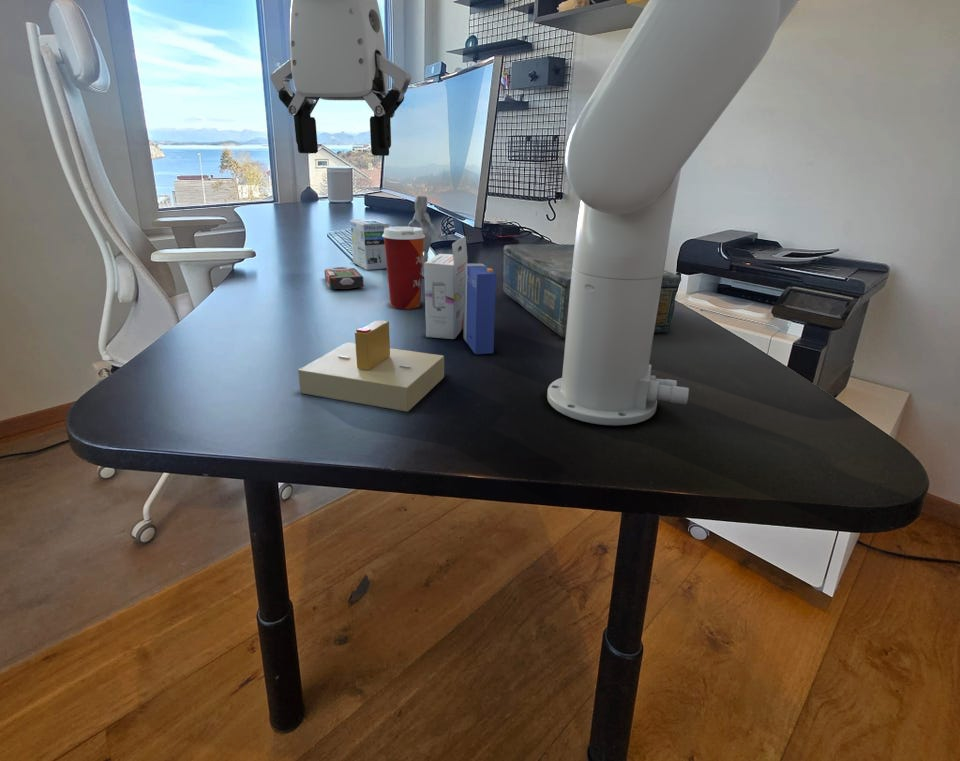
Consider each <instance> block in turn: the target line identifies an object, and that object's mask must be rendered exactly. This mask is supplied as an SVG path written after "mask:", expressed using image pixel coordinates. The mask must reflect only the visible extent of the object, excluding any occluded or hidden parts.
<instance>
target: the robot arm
mask: <svg viewBox="0 0 960 761" xmlns="http://www.w3.org/2000/svg"><path fill="white" fill-rule="evenodd" d="M799 1H800V0H648V1H647V3H646V5H645V6H644V7H643V10H642V12H641V13H640V15H639V16H638V17H637V19H636V21H635V23H634V24H633V26H632V28H631V30H630V31H629V33H628V34H627V36H626V37H625V40H623V42H622V44H621V46H620V47H619V49H618V51H617V52H616V53H615V54H616V55H615V56H614V58H613V59H612V61H611V62H610V64H609V66H608V67H607V69H606V71H605V72H604V74H603V75H602V77H601V79H600V80H599V82H598V84H597V86H596V87H595V89H594V90H593V92H592V94H591V95H590V97H589V99H588V100H587V102H586V103H585V105H584V107H583V108H582V111H580V114H579V115H578V117H577V119H576V121H575V123H574V125H573V126H572V129H571V131H570V134H569V136H568V140H567V143H566V149H565V158H564V159H565V162H564V163H565V165H564V166H565V173H566V177H567V180H568V182H569V185H570V186H571V189H572V191H573V192H574V194H575V195H576V197H578V199H579V201H580V202H579V210H578V216H577V221H576V222H577V223H576V230H575V238H574V244H573V245H574V255H573V266H572V275H571V286H570V297H569V308H568V319H567V329H566V338H565V340H564V354H563V362H562V373H561V374H562V375H561V377H560V378H557V379H555V380H554V381H552V382H551V383H550V384H549V385H548V387H547V392H546V399H547V402H548V403H549V405H550V406H551V407H552V408H553V409H554V410H555V411H557V412H559V413H560V414H562V415H563V416H566V417H568V418H571V419H573V420H576V421H580V422H583V423H586V424H587V423H588V424H591V425H592V424H593V425H601V426H613V427H616V426H618V427H619V426H629V425H635V424H639V423H642V422H645V421H647V420H649V419H651V418H652V417H653V416H654V415H655V414H656V411H657V406H658V401H661V402H663V401H664V402H668V403H669V404H670V403H671V404H676V405H683V406H687V404H688V400H689V394H690V393H689V392H690V388H689V387H685V386H677V385H678V380H674V379H669V378H665V379H664V378H657V376H656V375H654V374H651V373H652V364H650V361H651V353H652V347H653V340H654V335H655V332H654V329H655V323H656V316H657V310H658V303H659V297H660V291H661V284H662V278H663V274H664V270H665V266H666V260H667V253H668V248H669V241H670V236H671V235H670V234H671V228H672V222H673V217H674V211H675V207H676V206H675V205H676V201H677V200H676V199H677V193H678V188H679V182H680V176H681V171H682V168H683V167H684V166H685V164H686V163H687V162H688V160H689V159H690V157H691V156H692V155H693V153H694V152H695V151H696V149H697V148H698V147H699V146H700V144H701V143H702V141H703V140H704V139H705V138H706V136H707V135H708V134H709V132H710V131H711V130H712V128H713V126H714V125H715V124H716V122H717V121H718V120H719V118H720V117H721V116H722V114H723V113H724V112H725V111H726V109H727V108H728V107H729V105H730V104H731V102H733V100H734V98H735V97H736V96H737V94H738V93H739V91H740V90H741V89H742V88H743V86H744V85H745V83H746V82H747V81H748V79H749V78H750V77H751V76H752V74H753V72H754V71H756V69H757V68H758V66H759V65H760V63H761V62H762V61H763V59H764V58H765V56H766V54H767V52H768V50H769V49H770V47H771V45H772V43H773V40H774V38H775V35H776V33H777V32H778V30H779V29H780V27H781V26H782V25H783V23H784V22H785V21H786V19H787V18H788V16H789V15H790V14H791V12H792V11H793V9H794V8H795V7H796V5H797V4H798V2H799ZM289 16H290V18H289V51H290V52H289V54H290V59H288V60H287V61H286V62H284V63H283V64H281V65H280V66H279V67H278V68H277V69H275V70H274V71H273V72H272V73H271V74H270V80H271V83H272V85H273V86H274V88H275V90H276V92H277V93H278V98H279V100H280V102H281V103H282V104H283V105H284V106H285V107H286V108H287V111H288V114H289V115H290V116H293V121H294V122H293V123H294V134H295V141H296V144H297V151H298V153H299V154H317V153H318V152H319V146H318V133H317V132H318V131H317V121H316V118H315V117H314V116H312V112H313V111H314V109H315V107H316V106H317V104H318V102H319V101H320V100H324V101H365V102H366V104H367V105H368V107H369V109H371V111H372V113H373V115H371V116H370V118H369V128H370V129H369V136H370V153H371V155H372V156H377V157H389V155H390V149H391V147H392V126H391V123H392V122H391V119H392V118H394V117H395V113H396V111H397V109H399V107H400V106H401V105H402V103H403V102H404V101H405V94H406V93H407V91H408V88H409V86H410V83H411V80H412V74H411V73H410V72H409V71H408V70H406V69H404V68H403V67H402V66H400V65H397V64H396V63H395V62H394V61H391V60H390V59H388V58H387V50H386V49H387V48H386V41H385V34H384V27H383V21H382V16H381V12H380V6H379V3H378V0H291V2H290V15H289ZM389 77H390V78H392V85H391V89H390V90H389ZM291 80H292V83H293V88H294V90H295V92H294V91H293V90H292V88H291V85H290V81H291Z"/></svg>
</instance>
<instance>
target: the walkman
mask: <svg viewBox="0 0 960 761" xmlns="http://www.w3.org/2000/svg"><path fill="white" fill-rule="evenodd" d="M496 289H497V273H496V272H495V271H494V269H493V268H492V267H488V266H486V265H485V264H483V263H480V262H479V263H473V262H471V263H469V262H467V264H465V272H464V326H463V329H462V335H463V336H462V338H463V340H464V341H465V343H466V344H467V345H468V347H469V348H470V349H471V351H472V352H473V353H474V354H475V355H486V354H494V346H495V344H494V343H495V318H496V317H495V316H496Z"/></svg>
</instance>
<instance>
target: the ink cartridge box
mask: <svg viewBox="0 0 960 761" xmlns="http://www.w3.org/2000/svg"><path fill="white" fill-rule="evenodd" d="M467 246H468V245H467V237H466V235H464V236H463V237H461V238H459V239H457V240H455V241H453V243H452V244H451V248H452V253H438V254H436V255H435V256H434V257H432V258H430V259H429V260H428V261H427V262H425V263H424V267H423V274H424V276H425V278H424V299H425V300H424V302H425V304H424V305H425V306H424V307H425V308H424V309H425V337H426V338H433V339H443V340H444V339H445V340H455V339H456V338H457V337H458V336H459V334H460V333H461V332H462V331H463V326H464V272H465V264H468V248H467ZM460 247H461V250H460V251H459V248H460Z"/></svg>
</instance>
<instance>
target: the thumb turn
mask: <svg viewBox="0 0 960 761" xmlns="http://www.w3.org/2000/svg"><path fill="white" fill-rule="evenodd" d="M354 343H356V359H357V368H358V369H364V370H370V369H371V368H373V367H374V366H376V365H377V364H379V363H380V362H382V361H383V360H384V359H386V358H387V357H389V356H390V348H391V339H390V321H388V320H383V319H382V320H381V319H377V320H375V321H373V322H371V323H369V324H368V325H366V326H364V327H359V328H357V329H356V331H355V332H354Z"/></svg>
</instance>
